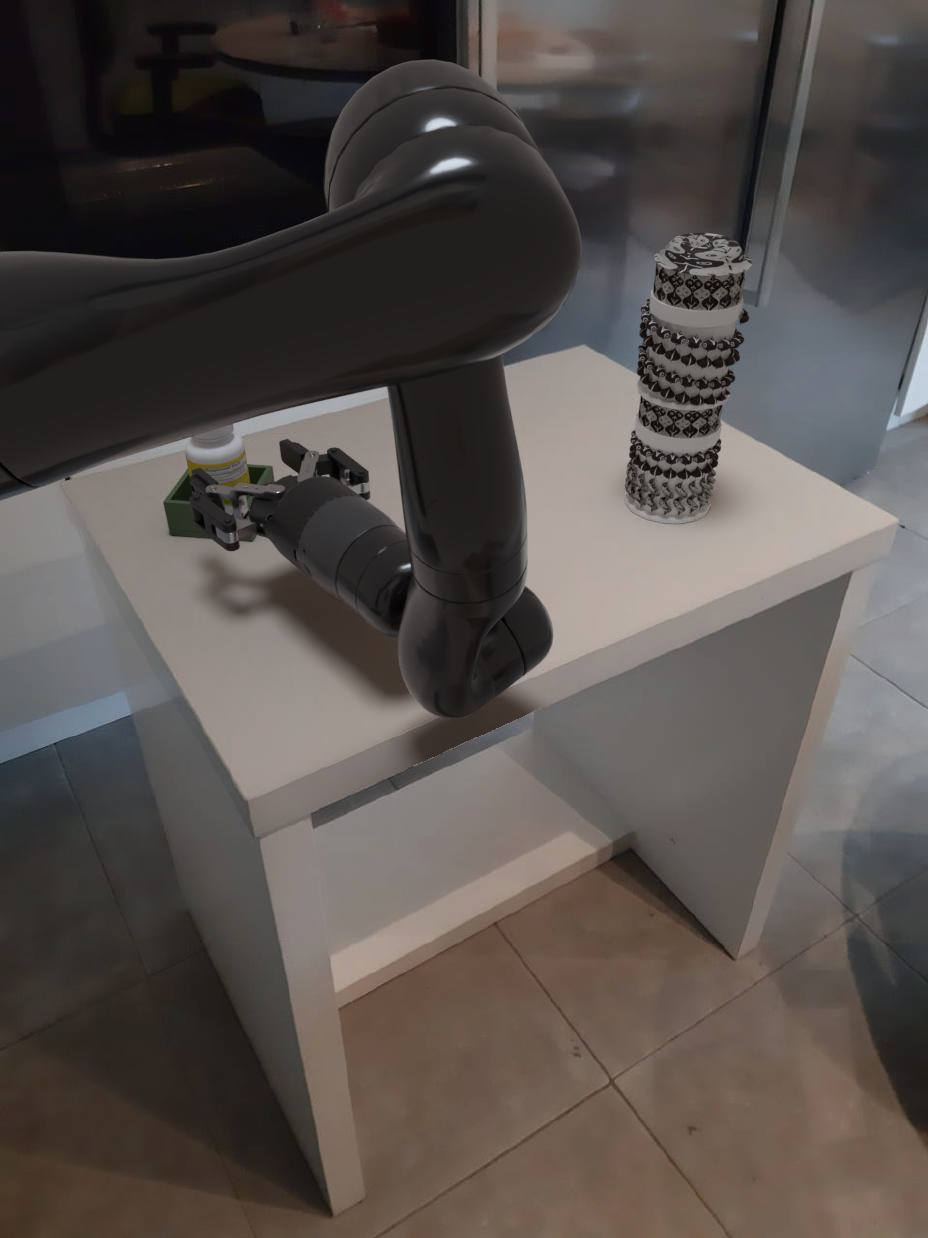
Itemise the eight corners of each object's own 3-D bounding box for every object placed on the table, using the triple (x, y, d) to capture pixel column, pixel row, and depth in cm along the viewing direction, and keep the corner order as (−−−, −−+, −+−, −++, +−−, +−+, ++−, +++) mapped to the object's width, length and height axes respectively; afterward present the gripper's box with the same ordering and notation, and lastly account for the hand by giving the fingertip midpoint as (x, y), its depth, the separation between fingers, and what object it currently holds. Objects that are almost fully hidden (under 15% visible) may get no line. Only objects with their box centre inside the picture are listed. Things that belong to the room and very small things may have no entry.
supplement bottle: (194, 501, 95) (176, 408, 89) (250, 492, 97) (236, 400, 91) (199, 529, 91) (181, 434, 85) (257, 520, 93) (243, 426, 87)
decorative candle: (649, 469, 102) (681, 218, 87) (730, 497, 97) (780, 238, 82) (601, 504, 96) (627, 242, 81) (686, 536, 92) (730, 265, 76)
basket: (252, 541, 91) (247, 507, 89) (169, 535, 92) (162, 501, 89) (276, 497, 97) (272, 465, 95) (199, 492, 98) (193, 460, 96)
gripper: (414, 471, 77) (306, 401, 87) (254, 531, 70) (156, 448, 80) (416, 550, 82) (313, 476, 92) (266, 615, 75) (172, 526, 85)
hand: (240, 463), depth 86 cm, fingers open, 8 cm apart
